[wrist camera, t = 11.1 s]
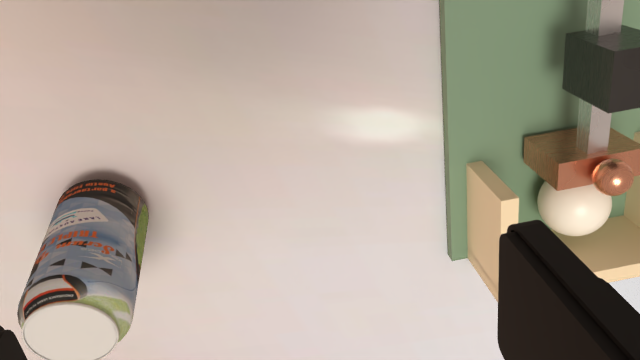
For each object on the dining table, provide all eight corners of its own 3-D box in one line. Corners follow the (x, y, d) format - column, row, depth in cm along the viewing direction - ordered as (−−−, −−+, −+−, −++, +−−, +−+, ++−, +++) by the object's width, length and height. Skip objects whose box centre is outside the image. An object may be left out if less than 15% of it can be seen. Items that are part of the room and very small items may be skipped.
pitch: (432, -203, 32) (481, -230, 25) (711, -241, 33) (823, -276, 27) (447, 254, 46) (481, 308, 40) (642, 216, 47) (705, 262, 41)
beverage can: (130, 159, 38) (90, 254, 28) (170, 244, 42) (148, 359, 31) (42, 185, 38) (-31, 291, 28) (89, 269, 42) (40, 392, 31)
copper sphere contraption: (530, -39, 35) (601, -27, 28) (621, -53, 35) (711, -45, 29) (523, 164, 41) (579, 213, 35) (600, 150, 42) (670, 195, 35)
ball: (554, 255, 40) (522, 215, 44) (620, 243, 40) (582, 204, 45) (563, 199, 37) (528, 162, 42) (633, 186, 38) (592, 150, 42)
